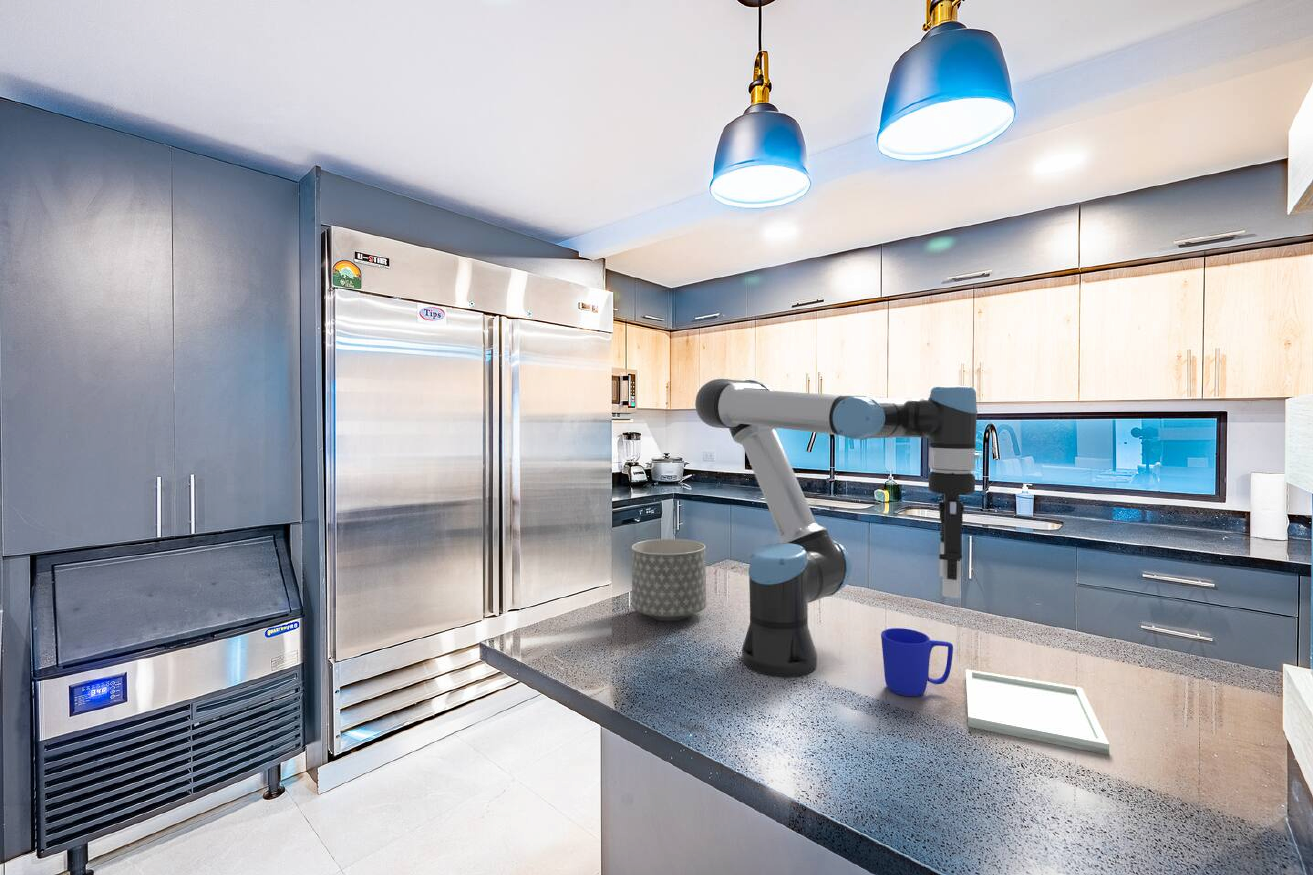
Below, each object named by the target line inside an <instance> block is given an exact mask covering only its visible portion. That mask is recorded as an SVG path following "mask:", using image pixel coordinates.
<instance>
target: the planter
mask: <svg viewBox="0 0 1313 875" xmlns="http://www.w3.org/2000/svg"><path fill="white" fill-rule="evenodd" d="M706 548H707V547H706V545H705V544H704V543H702V542H699V541H697V540H691V539H684V538H682V539H680V538H658V539H649V540H642V541H639V542H635V543H634V544H632V546H631V589H632V590H631V591H632V592H631V598H632V599H631V601H632V602H631V603H632V608H633V609H634V610H635V611H636V612H638V613H641V614H645V615H646V616H648V617H650V618H652V619H655V620H658V621H661V620H662V622H676V621H681V620H683V619H686V618H689V617H691V616H693V615H694V614H697V613H700V612H702V611H703V610H704V609H705V608H706V607H707V569H706V568H707V563H706V562H707V560H706V552H707V551H706Z"/></svg>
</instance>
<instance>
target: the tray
mask: <svg viewBox="0 0 1313 875" xmlns="http://www.w3.org/2000/svg"><path fill="white" fill-rule="evenodd" d="M965 689H966V707H967V710H966V711H967V727H968V728H971V729H978V730H982V731H988V732H993V733H998V734H1003V735H1008V736H1011V737H1012V736H1013V737H1018V738H1022V739H1026V740H1027V739H1028V740H1031V741H1032V740H1033V741H1038V742H1042V743H1046V744H1053V745H1057V746H1061V747H1062V746H1063V747H1067V748H1073V749H1078V750H1083V751H1087V752H1091V753H1097V754H1103V755H1106V756H1109V755H1110V743H1109V741H1108V739H1107V737H1106V735H1105V733H1104V731H1103V729H1102V727H1101V724H1100V722H1099V720H1098V719H1097V716H1096V715H1095V714H1096V713H1094V710H1093V708H1092V706H1091V704H1090V702H1089V700H1088V698H1087V696H1086V694H1085V692H1084V689H1083V687H1080V686H1073V685H1066V684H1062V683H1061V684H1060V683H1055V682H1054V683H1053V682H1049V681H1044V680H1043V681H1042V680H1038V679H1037V680H1035V679H1029V678H1023V677H1018V676H1011V675H1004V674H998V673H994V672H993V673H991V672H986V671H979V670H975V669H974V670H973V669H967V668H966V669H965Z"/></svg>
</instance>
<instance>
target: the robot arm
mask: <svg viewBox="0 0 1313 875" xmlns="http://www.w3.org/2000/svg"><path fill="white" fill-rule="evenodd" d="M695 411H696V414H697V415H698V417H699V419H700V420H701V421H702V422H703V423H705V425H708V426H709V427H712V428H715V429H716V428H717V429H718V428H719V429H728V430H729V432H730V434H731V437H732V438H733V441H734V442H735V443H737V444H740V445H742V448H743V450H744V452H745V454H746V456H747V459H748V461H749V464H750V466H751V469H752V471H753V474H754V476H755V479H756V481H757V483H758V487H759V488H760V491H761V492H762V495H763V498H764V500H765V502H766V505H767V506H768V510H769V512H770V515H771V517H772V519H773V522H774V524H775V526H776V529H777V531H778V534H779V535H780V541H779V542H777V543H774V544H772V543H770V544H765V545H762V546H760V547H757V548H755V549H754V550H753V551H752V552H751V554H750V557H749V567H748V576H749V577H748V578H749V582H748V584H749V586H748V587H749V625H748V627H747V631H746V635H745V638H744V641H743V644H742V647H741V660H742V663H743V664H744V666H746V667H747V668H749V669H750V670H752V671H754V672H757V673H760V674H762V675H768V676H774V677H783V678H784V677H788V678H789V677H797V676H803V675H804V676H805V675H807V674H810V673H811V672H813V671H814V670H816V668H817V667H818V654H817V649H816V646H815V644H814V641H813V637H812V635H811V631H810V629H809V625H808V623H809V622H808V620H809V619H808V618H809V616H808V614H809V613H808V612H809V611H808V610H809V609H808V608H809V607H808V605H809V604H810V603H812V602H815V601H818V600H820V599H823V598H827V597H830V596H834V595H835V594H837V592H839V591H841V590H842V589H843V588H845V587H846V586H847V584H848V583H849V581H850V577H851V575H852V561H851V558H850V554H849V552H848V551H847V550H846V548H845V547H844V546H843V545H842V544H841V543H839V542H837V541H836V540H833V539H832V537H831V536H830V534H829V532H828V530H827V528H826V527H825V526H822V525H819V524H818V523H817V521H816V519H815V517H814V514H813V512H812V510H811V508H810V505H809V503H808V501H807V499H806V496H805V494H804V492H803V490H802V488H801V485H800V484H799V481H798V479H797V475H796V473H795V471H794V469H793V467H792V465H791V463H790V460H789V457H788V456H787V453H786V451H785V448H784V446H783V445H782V442H781V440H780V437H779V435H778V433H777V429H783V430H784V429H785V430H792V431H799V432H810V433H817V434H818V433H819V434H827V435H836V436H841V437H844V438H846V439H852V440H859V441H862V440H867V439H881V438H882V439H886V438H887V439H889V438H890V439H891V438H922V439H927V438H928V439H929V447H928V468H929V469H931V470H930V472H929V473H928V490H929V492H932V493H935V494H941V497H940V498H941V499H942V500H941V501H938V511H939V520H940V532H939V533H940V534H939V536H940V539H939V540H940V543H939V544H940V545H939V546H940V547H939V550H940V552H939V556H938V557H939V558H938V559H939V577H942V579H941V580H942V587H941V589H942V591H941V597H944V598H945V597H946V598H954V599H961V570H962V569H961V566H962V565H961V564H962V561H961V560H962V558H963V554H962V527H963V523H964V521H963V520H964V519H963V515H964V512H965V506H964V504H963V502H962V501H961V502H960V495H965V496H968V495H969V496H970V495H972V494H974V493H975V491H976V490H975V489H976V475H975V473H973V472H972V471H974V470H975V469H976V461H975V460H978V459H980V454H979V453H976V448H977V447H976V446H977V444H976V443H977V439H976V438H977V437H976V436H977V418H978V416H977V415H978V407H977V391H976V390H975V389H974V388H973V387H971V386H968V385H967V386H965V385H963V386H962V385H961V386H960V385H949V386H947V385H946V386H945V385H944V386H934V387H932V389H930V394H929V397H923V398H897V397H896V398H894V397H874V396H866V395H865V396H862V395H842V394H841V395H840V394H828V393H827V394H826V393H814V392H813V393H810V392H799V391H797V392H794V391H782V390H781V391H779V390H774V389H773V388H772V387H771V386H770V385H768V384H767V383H764V382H761V381H756V380H754V379H753V380H752V379H746V380H740V379H739V380H738V379H727V378H716V379H712V380H710V381H708V382H706V383H704V384H703V385H702V386H701V387H700V389H699V390H698V392H697V393H696V397H695Z"/></svg>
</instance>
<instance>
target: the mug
mask: <svg viewBox="0 0 1313 875" xmlns="http://www.w3.org/2000/svg"><path fill="white" fill-rule="evenodd" d="M880 638H881V648H882V660H883V661H882V662H883V669H884V670H883V673H884V680H885V684H886V687H887V688H888V689H889V690H890V691H891V692H893V693H894V694H897V695H900V696H905V697H917V696H919V697H920V696H921V695H923V694H924V693H925V692H926V689H927V685H928V683H930V684H933V685H941V684H944V683H945V682H946V681H948V678H949V676H950V674H951V668H952V662H953V653H954V646H953V643H951V642H949V641H943V640H932V639H931V638H930V637H929V636H928V635H927V634H925V633H923V632H921V631H918V630H914V629H909V628H903V627H902V628H901V627H894V628H887V629H883V631H881V633H880ZM934 647H947V655H946V656H947V659H946V666H945V670H944V673H943V674H942V675H941V677H939V678H937V679H934V678H930V677H929V676H930V675H929V674H930V673H929V670H930V658H931V654H932V653H931V652H932V650H933V648H934Z"/></svg>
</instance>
